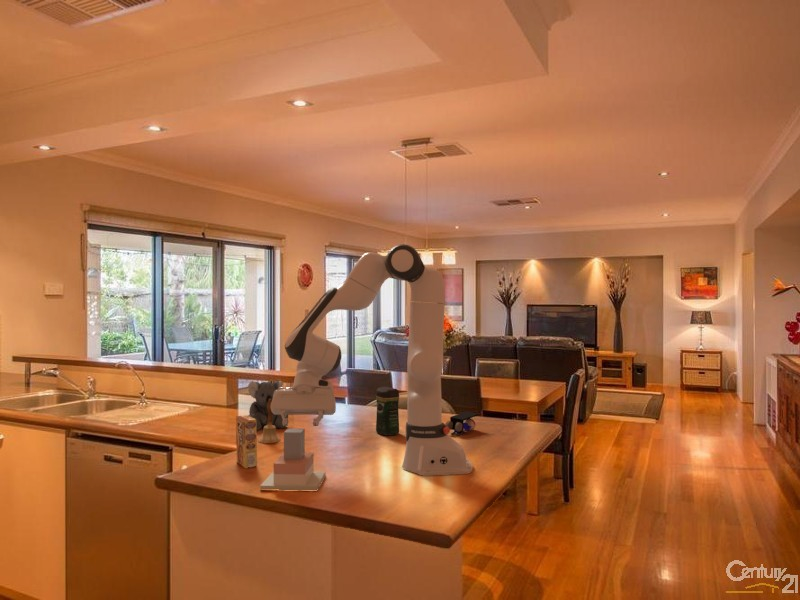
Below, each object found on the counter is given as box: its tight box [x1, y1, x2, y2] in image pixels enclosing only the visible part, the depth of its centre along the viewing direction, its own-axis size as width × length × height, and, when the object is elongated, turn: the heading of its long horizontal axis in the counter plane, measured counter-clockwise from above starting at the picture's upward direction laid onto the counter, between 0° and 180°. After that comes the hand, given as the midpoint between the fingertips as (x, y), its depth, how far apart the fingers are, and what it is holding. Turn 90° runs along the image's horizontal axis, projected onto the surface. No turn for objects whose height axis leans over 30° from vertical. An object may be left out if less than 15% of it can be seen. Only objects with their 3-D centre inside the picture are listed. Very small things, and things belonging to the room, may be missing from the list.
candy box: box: [235, 414, 258, 469], centre depth 186 cm, size 9×4×15 cm, turn 35°
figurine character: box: [445, 411, 479, 436], centre depth 231 cm, size 7×8×15 cm
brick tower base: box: [259, 451, 327, 491], centre depth 167 cm, size 16×14×8 cm
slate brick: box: [283, 427, 306, 460], centre depth 167 cm, size 5×5×8 cm
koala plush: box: [247, 380, 289, 431], centre depth 243 cm, size 17×18×20 cm
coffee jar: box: [375, 386, 400, 436], centre depth 229 cm, size 10×8×19 cm
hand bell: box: [257, 399, 281, 444], centre depth 217 cm, size 8×8×16 cm
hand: (300, 424), depth 175 cm, fingers open, 8 cm apart
